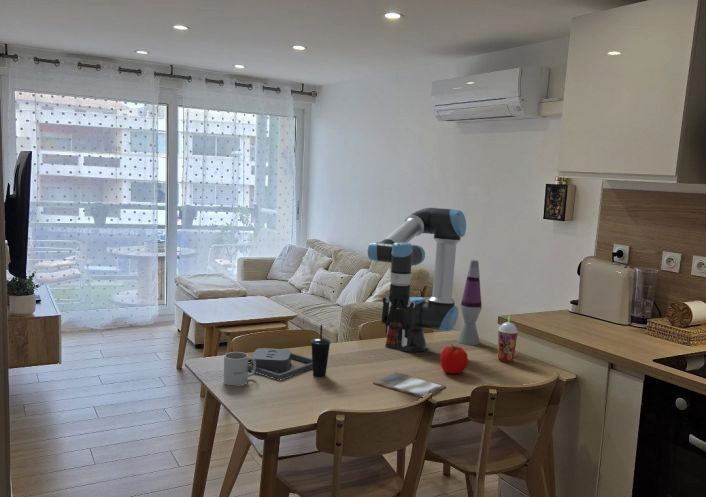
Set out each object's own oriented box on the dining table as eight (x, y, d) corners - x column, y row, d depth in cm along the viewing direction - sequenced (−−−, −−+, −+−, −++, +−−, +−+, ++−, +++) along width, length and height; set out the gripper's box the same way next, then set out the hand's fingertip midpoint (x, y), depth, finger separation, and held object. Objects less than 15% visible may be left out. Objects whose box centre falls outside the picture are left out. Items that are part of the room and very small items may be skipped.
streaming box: (256, 359, 239) (256, 347, 238) (291, 361, 239) (291, 349, 238) (250, 371, 224) (250, 358, 224) (287, 373, 224) (287, 360, 224)
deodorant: (384, 346, 220) (391, 307, 221) (399, 349, 220) (406, 310, 221) (386, 348, 214) (393, 308, 215) (401, 351, 214) (409, 311, 215)
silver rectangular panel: (373, 383, 217) (373, 380, 217) (395, 373, 230) (396, 369, 230) (424, 399, 204) (425, 395, 204) (445, 387, 217) (445, 383, 217)
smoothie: (513, 358, 257) (517, 314, 254) (516, 364, 248) (520, 319, 246) (494, 357, 257) (497, 313, 255) (497, 363, 249) (500, 317, 247)
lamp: (457, 343, 276) (463, 261, 271) (457, 337, 286) (462, 258, 281) (480, 345, 274) (486, 262, 269) (479, 339, 285) (485, 259, 280)
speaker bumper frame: (235, 366, 229) (235, 361, 229) (277, 353, 248) (277, 348, 248) (279, 380, 215) (279, 375, 215) (319, 365, 234) (319, 361, 234)
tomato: (450, 366, 242) (451, 340, 241) (473, 373, 234) (475, 346, 233) (432, 371, 234) (434, 345, 232) (455, 379, 226) (457, 352, 224)
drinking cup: (332, 373, 225) (334, 323, 223) (324, 380, 218) (327, 328, 216) (314, 370, 228) (316, 321, 225) (306, 376, 221) (308, 325, 218)
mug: (227, 387, 206) (227, 360, 205) (221, 379, 214) (221, 353, 213) (260, 383, 212) (261, 356, 211) (253, 375, 219) (254, 350, 218)
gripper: (373, 281, 219) (370, 340, 221) (417, 289, 208) (413, 351, 211) (384, 279, 225) (381, 336, 228) (427, 286, 214) (423, 346, 217)
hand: (396, 343), depth 219 cm, fingers closed on deodorant, 6 cm apart
